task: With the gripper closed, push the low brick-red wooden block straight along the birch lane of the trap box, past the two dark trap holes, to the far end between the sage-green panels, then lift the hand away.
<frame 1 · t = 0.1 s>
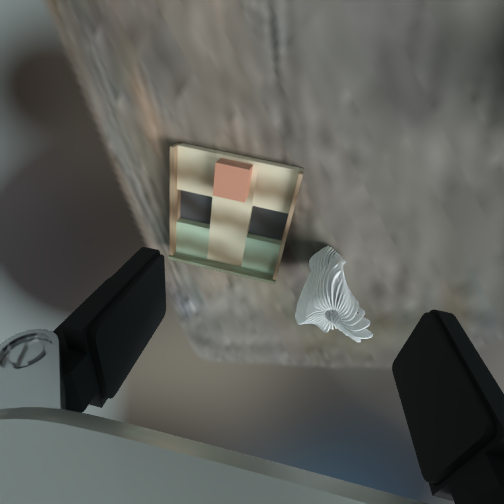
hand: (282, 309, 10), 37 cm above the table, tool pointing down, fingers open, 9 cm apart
shell sculpture: (326, 259, 51), on the table
block: (235, 177, 44), point 2 cm above the table, touching trap box
trap box: (232, 213, 49), on the table
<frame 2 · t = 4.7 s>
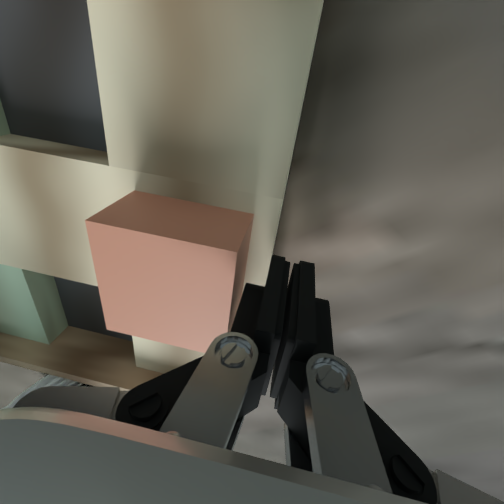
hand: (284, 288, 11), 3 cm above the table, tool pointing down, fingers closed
shell sculpture: (72, 384, 25), on the table
block: (192, 254, 13), point 2 cm above the table, touching gripper
trap box: (87, 209, 15), on the table
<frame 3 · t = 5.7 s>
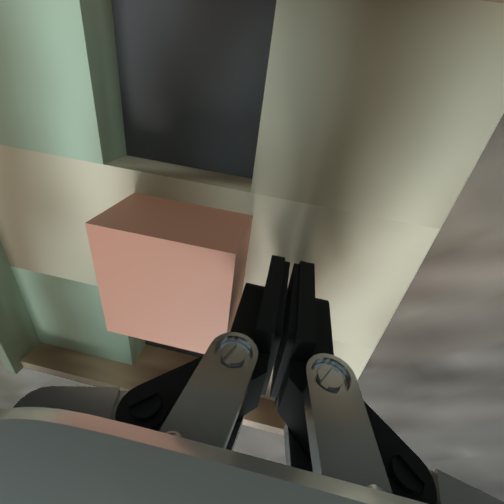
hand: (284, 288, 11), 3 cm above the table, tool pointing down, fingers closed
block: (191, 255, 13), point 2 cm above the table, touching gripper, trap box
trap box: (191, 230, 14), on the table
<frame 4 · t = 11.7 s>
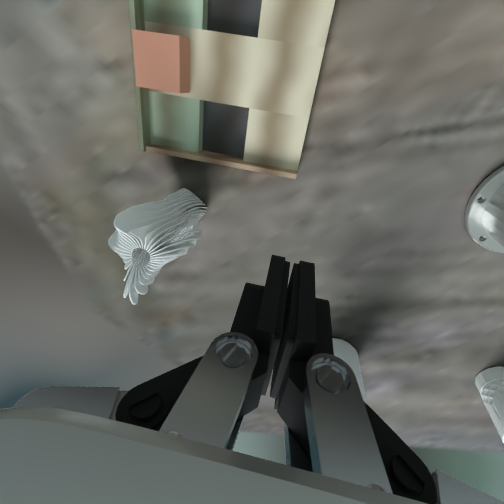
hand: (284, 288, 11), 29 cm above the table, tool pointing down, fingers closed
shell sculpture: (188, 205, 43), on the table
alcohol: (332, 351, 53), on the table
white cup: (496, 377, 50), on the table
block: (168, 64, 32), point 2 cm above the table, touching trap box
trap box: (231, 71, 33), on the table
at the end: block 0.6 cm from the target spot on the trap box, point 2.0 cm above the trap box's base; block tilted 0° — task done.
